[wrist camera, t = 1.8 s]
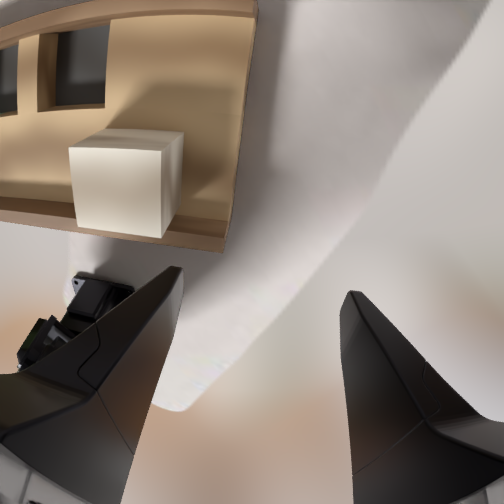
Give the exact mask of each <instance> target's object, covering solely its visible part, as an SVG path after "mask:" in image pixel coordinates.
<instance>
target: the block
mask: <svg viewBox="0 0 504 504" xmlns="http://www.w3.org/2000/svg"><path fill="white" fill-rule="evenodd" d="M183 143H184V132H179V131H164V130H144V129H103V130H101V131H99V132H97V133H95V134H93V135H91V136H89V137H87V138H85V139H83V140H81V141H79V142H78V143H76V144H74V145H72V146H70V147H69V160H70V172H71V181H72V190H73V198H74V205H75V212H76V219H77V225H78V227H83V228H90V229H97V230H104V231H112V232H119V233H126V234H133V235H141V236H148V237H155V238H162V236H163V234H164V233H165V231H166V229H167V227H168V226H169V224H170V222H171V220H172V219H173V217H174V215H175V213H176V212H177V210H178V208H179V207H180V205H181V185H182V162H183Z"/></svg>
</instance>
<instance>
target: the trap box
mask: <svg viewBox="0 0 504 504" xmlns="http://www.w3.org/2000/svg"><path fill="white" fill-rule="evenodd" d="M258 12H259V9H258V4H257V0H94V1H89V2H84V3H79V4H75V5H70V6H66V7H62V8H59V9H55V10H51V11H48V12H44V13H41V14H38V15H35V16H32V17H29V18H26V19H23V20H20V21H17V22H14V23H12V24H9V25H6V26H4V27H1V28H0V221H4V222H10V223H17V224H23V225H30V226H37V227H44V228H50V229H57V230H64V231H71V232H78V233H85V234H91V235H98V236H105V237H112V238H119V239H126V240H133V241H140V242H147V243H154V244H161V245H168V246H175V247H182V248H189V249H196V250H204V251H211V252H218V253H223V250H224V246H225V242H226V238H227V234H228V229H229V225H230V221H231V217H232V208H233V199H234V191H235V182H236V174H237V165H238V157H239V149H240V141H241V133H242V125H243V117H244V110H245V102H246V95H247V87H248V80H249V73H250V66H251V59H252V52H253V45H254V38H255V31H256V25H257V18H258ZM103 129H144V130H164V131H179V132H184V143H183V162H182V185H181V205H180V207H179V208H178V210H177V212H176V213H175V215H174V217H173V219H172V220H171V222H170V224H169V226H168V227H167V229H166V231H165V233H164V234H163V236H162V238H155V237H148V236H141V235H133V234H126V233H119V232H112V231H104V230H97V229H90V228H83V227H78V225H77V219H76V212H75V205H74V198H73V190H72V181H71V172H70V160H69V147H70V146H72V145H74V144H76V143H78V142H79V141H81V140H83V139H85V138H87V137H89V136H91V135H93V134H95V133H97V132H99V131H101V130H103Z"/></svg>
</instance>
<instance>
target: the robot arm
mask: <svg viewBox="0 0 504 504" xmlns="http://www.w3.org/2000/svg"><path fill="white" fill-rule="evenodd" d="M72 284H73V288H74V291H75V297H74V298H73V300H72V301H71V303H70V304H69V306H68V307H67V312H66V314H65V315H64V317H63V318H62V320H61V321H60V322H59V321H57V320H56V319H57V318H55V317H54V316H53V315H51V317H50V318H49V319H48V320H46V319H41V318H39V319H38V321H37V322H36V324H35V325H34V327H33V329H32V330H31V332H30V333H29V335H28V336H27V338H26V340H25V341H24V343H23V344H22V346H21V347H20V349H19V351H18V353H17V358H18V362H19V364H18V366H17V368H18V371H17V373H12V374H0V504H120V503H121V499H122V495H123V492H124V489H125V485H126V481H127V478H128V475H129V471H130V468H131V465H132V461H133V458H134V456H133V455H134V454H135V451H136V448H137V445H138V441H139V438H140V435H141V432H142V429H143V425H144V423H145V419H146V416H147V413H148V410H149V407H150V404H151V401H152V398H153V395H154V392H155V389H156V386H157V383H158V380H159V377H160V374H161V371H162V368H163V366H164V363H165V360H166V357H167V354H168V351H169V348H170V346H171V343H172V340H173V337H174V332H175V328H176V324H177V319H178V315H179V310H180V306H181V302H182V297H183V291H184V271H183V268H181V267H174V266H170V267H168V268H167V269H165V270H164V271H163V272H161V273H160V274H158V275H157V276H156V277H154V278H153V279H152V280H150V281H149V282H148V283H146V284H145V285H144V286H142V287H141V288H140V289H138V290H137V291H136V292H135V290H134V288H133V287H131V286H127V285H121V284H116V283H111V282H106V281H100V280H95V279H90V278H85V277H81V276H74V277H73V279H72ZM128 291H129V292H128ZM340 349H341V363H342V371H343V379H344V387H345V395H346V405H347V415H348V425H349V436H350V448H351V461H352V475H353V476H352V479H353V499H354V504H504V423H503V422H497V421H493V420H489V419H487V418H485V417H483V416H482V415H480V414H479V413H478V412H477V411H476V410H475V409H474V408H473V407H472V406H471V405H469V403H467V402H466V401H465V400H464V399H463V398H462V397H461V396H460V395H459V394H458V393H457V392H456V391H455V390H454V389H453V388H452V387H451V386H450V385H449V384H448V383H447V382H446V381H445V380H444V379H443V378H442V377H441V376H440V375H439V374H438V373H437V372H436V371H435V369H434V368H433V367H432V366H431V365H430V364H429V363H428V362H427V361H426V360H425V359H424V357H423V356H422V355H421V354H420V353H419V352H418V351H417V350H416V349H415V348H414V346H413V345H412V344H411V343H410V342H409V341H408V340H407V339H406V338H405V337H404V336H403V335H402V333H401V332H399V330H398V329H397V328H396V327H395V326H394V325H393V324H392V323H391V322H390V321H389V320H388V319H387V318H386V317H385V316H384V314H383V313H382V312H380V310H379V309H378V308H377V307H376V306H375V305H374V304H373V303H372V302H371V301H370V300H369V299H368V298H367V297H366V296H365V295H364V294H363V293H362V292H360V291H353V290H350V291H349V292H348V293H347V295H346V298H345V300H344V302H343V305H342V307H341V310H340ZM425 361H426V362H425Z"/></svg>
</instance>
